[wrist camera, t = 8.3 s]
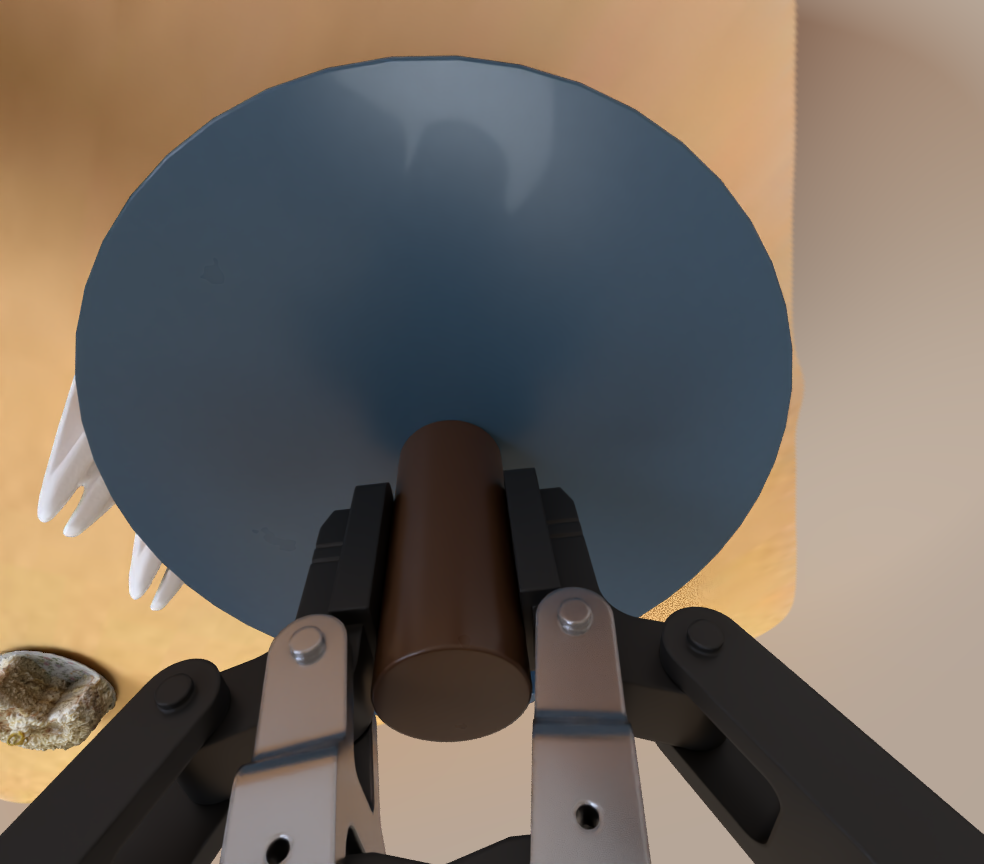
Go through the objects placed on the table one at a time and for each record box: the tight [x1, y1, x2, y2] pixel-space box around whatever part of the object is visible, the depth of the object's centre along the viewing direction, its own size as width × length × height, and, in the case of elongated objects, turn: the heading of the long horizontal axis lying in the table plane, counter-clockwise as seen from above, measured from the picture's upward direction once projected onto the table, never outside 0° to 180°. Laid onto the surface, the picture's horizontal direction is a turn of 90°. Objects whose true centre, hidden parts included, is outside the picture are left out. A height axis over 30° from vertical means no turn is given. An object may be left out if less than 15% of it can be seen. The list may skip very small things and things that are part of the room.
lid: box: [75, 56, 792, 742], centre depth 12 cm, size 17×17×8 cm
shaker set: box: [38, 376, 184, 610], centre depth 31 cm, size 12×4×11 cm, turn 10°
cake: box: [0, 651, 116, 751], centre depth 46 cm, size 10×10×5 cm
